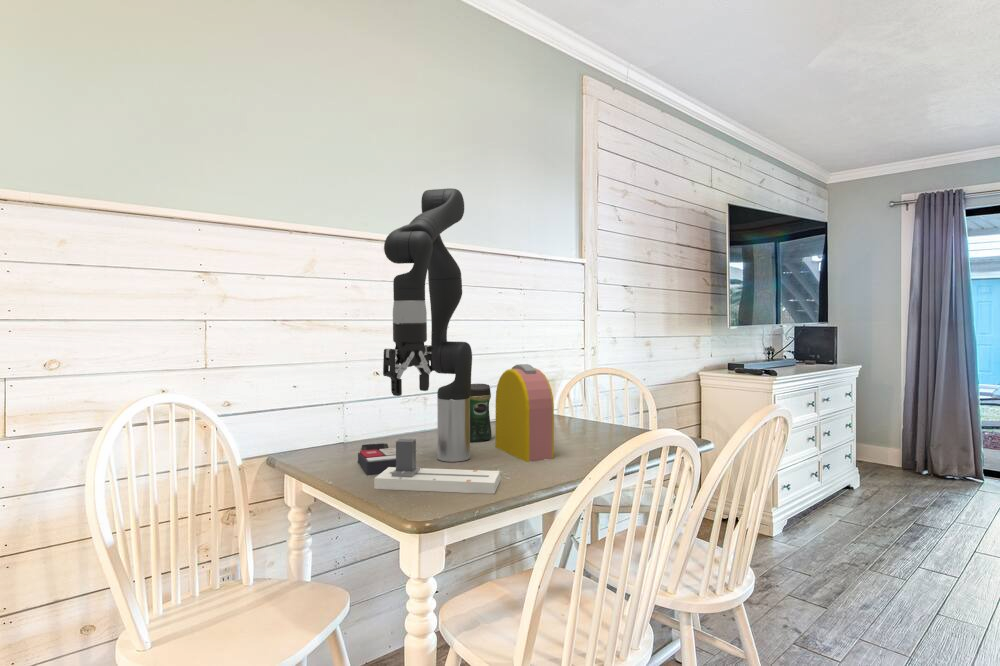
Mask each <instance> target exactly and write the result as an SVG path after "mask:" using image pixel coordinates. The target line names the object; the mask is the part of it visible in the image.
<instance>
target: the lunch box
mask: <svg viewBox="0 0 1000 666" xmlns="http://www.w3.org/2000/svg"><path fill="white" fill-rule="evenodd" d="M554 412H555V406H554V396H553V391H552V388H551V384H550V381H549V380H548V378H547V376H546V375H545V374H544V373H543V371H541V370H540V369H538V368H535V367H533V366H532V364H528V363H526V364H522V363H521V364H515V365H514V366H512V367H511V368H509V369H506V370H505V371H503V373H502V374H501V375H500V377H499V379H498V382H497V385H496V390H495V448H496V449H499V450H500V451H502V452H504V451H505V453H506V452H507V453H506V454H509V455H511V456H513V457H515V458H517V459H520V460H521V459H522V460H521V461H523V460H524V462H525V461H526V463H529V462H530V461H531V462H537V461H536V460H540V461H545V460H544V459H548V460H553V459H552V458H554V453H555V451H554V450H555V449H554V447H555V445H554V444H555V442H554V440H555V437H554V436H555V433H554V432H555V427H554V425H555V424H554V423H555V420H554V419H555V417H554V416H555V413H554Z"/></svg>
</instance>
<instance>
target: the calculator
mask: <svg viewBox="0 0 1000 666" xmlns="http://www.w3.org/2000/svg"><path fill="white" fill-rule="evenodd" d="M357 463H358V464H359V466H360V467H361V469H363V471H364V474H366V476H378V475H379V474H381V473H382V472H383V471H384V470H386V469H387V468H388V467H396V447H391V448H387V449H379V451H378V450H365V451H362V450H360V451H359V452H358V453H357Z"/></svg>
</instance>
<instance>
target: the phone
mask: <svg viewBox="0 0 1000 666" xmlns="http://www.w3.org/2000/svg"><path fill="white" fill-rule="evenodd" d="M387 448H389V444H388V443H369V444H362V445H361V451H365V450H378V451H379V449H387Z"/></svg>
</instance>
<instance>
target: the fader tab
mask: <svg viewBox="0 0 1000 666" xmlns="http://www.w3.org/2000/svg"><path fill="white" fill-rule="evenodd" d="M395 448H396V470H394V471H393V472H392V476H400V477H413V476H414V475H415V474H416V473H417V472H418V471H419V470H420V468H421V466H417V439H413V438H411V439H410V438H399V439H397V440H396V441H395Z"/></svg>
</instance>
